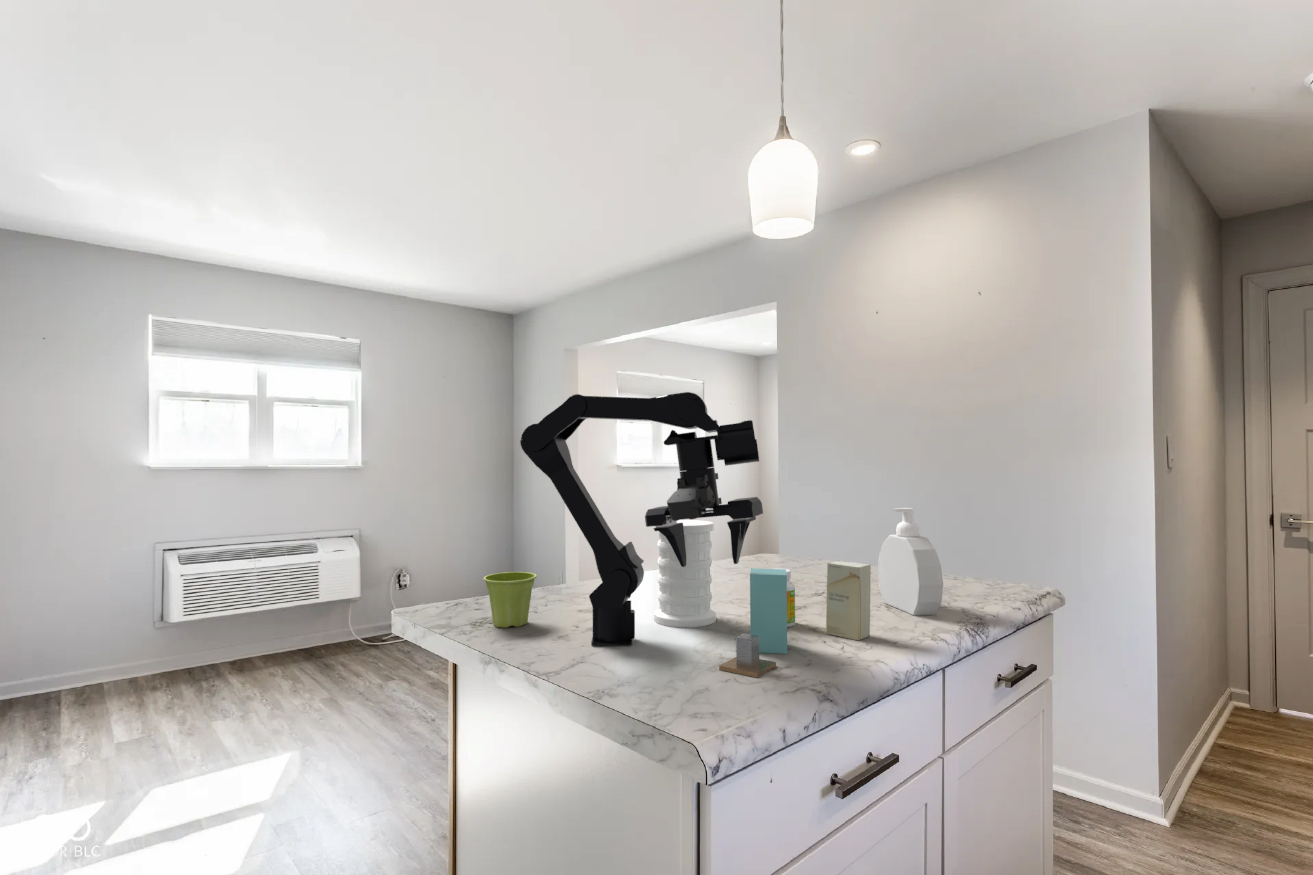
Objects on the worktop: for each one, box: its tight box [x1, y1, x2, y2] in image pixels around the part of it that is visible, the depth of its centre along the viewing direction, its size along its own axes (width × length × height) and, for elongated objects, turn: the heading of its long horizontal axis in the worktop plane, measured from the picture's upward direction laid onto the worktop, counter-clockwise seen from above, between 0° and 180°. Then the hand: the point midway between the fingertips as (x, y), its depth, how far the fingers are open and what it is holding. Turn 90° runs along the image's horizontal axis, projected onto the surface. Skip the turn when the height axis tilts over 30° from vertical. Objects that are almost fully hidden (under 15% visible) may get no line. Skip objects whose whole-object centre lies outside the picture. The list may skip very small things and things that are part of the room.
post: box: [718, 632, 777, 678], centre depth 96 cm, size 6×6×4 cm
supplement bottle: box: [775, 567, 796, 628], centre depth 121 cm, size 5×5×10 cm
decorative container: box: [653, 519, 717, 628], centre depth 125 cm, size 12×12×18 cm
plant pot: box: [483, 571, 538, 629], centre depth 121 cm, size 9×9×9 cm
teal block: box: [749, 567, 788, 655], centre depth 106 cm, size 6×6×12 cm
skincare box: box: [825, 560, 872, 641], centre depth 113 cm, size 6×4×12 cm
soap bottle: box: [877, 507, 944, 616], centre depth 133 cm, size 16×5×20 cm, turn 10°
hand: (709, 565), depth 108 cm, fingers open, 9 cm apart
